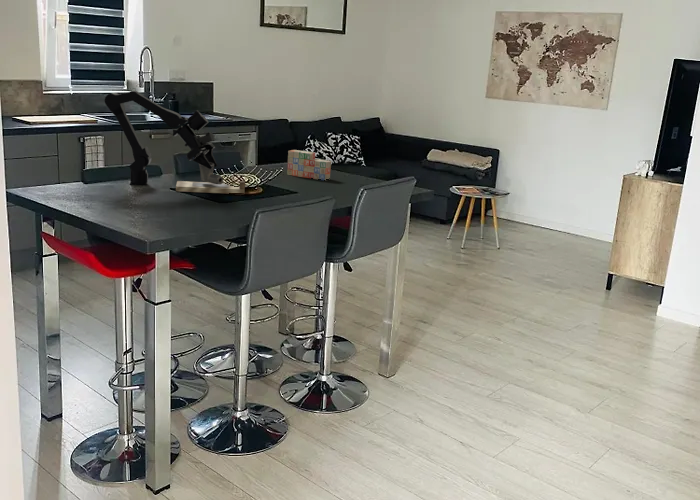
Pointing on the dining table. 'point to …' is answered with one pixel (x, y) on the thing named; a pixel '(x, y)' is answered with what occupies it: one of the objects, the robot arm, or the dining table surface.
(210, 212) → the dining table surface
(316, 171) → the stack of blocks
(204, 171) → the pipe
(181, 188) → the roller board
